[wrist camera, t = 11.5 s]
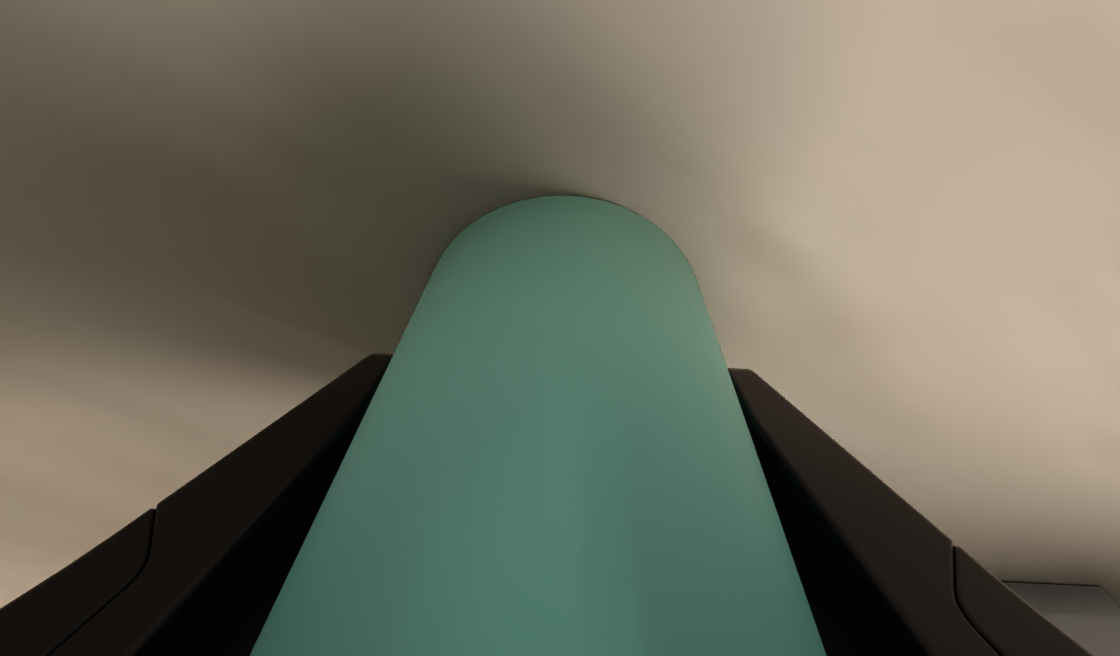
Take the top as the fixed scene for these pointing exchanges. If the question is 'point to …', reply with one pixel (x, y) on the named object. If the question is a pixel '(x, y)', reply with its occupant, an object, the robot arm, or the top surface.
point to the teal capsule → (550, 467)
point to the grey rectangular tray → (1077, 613)
